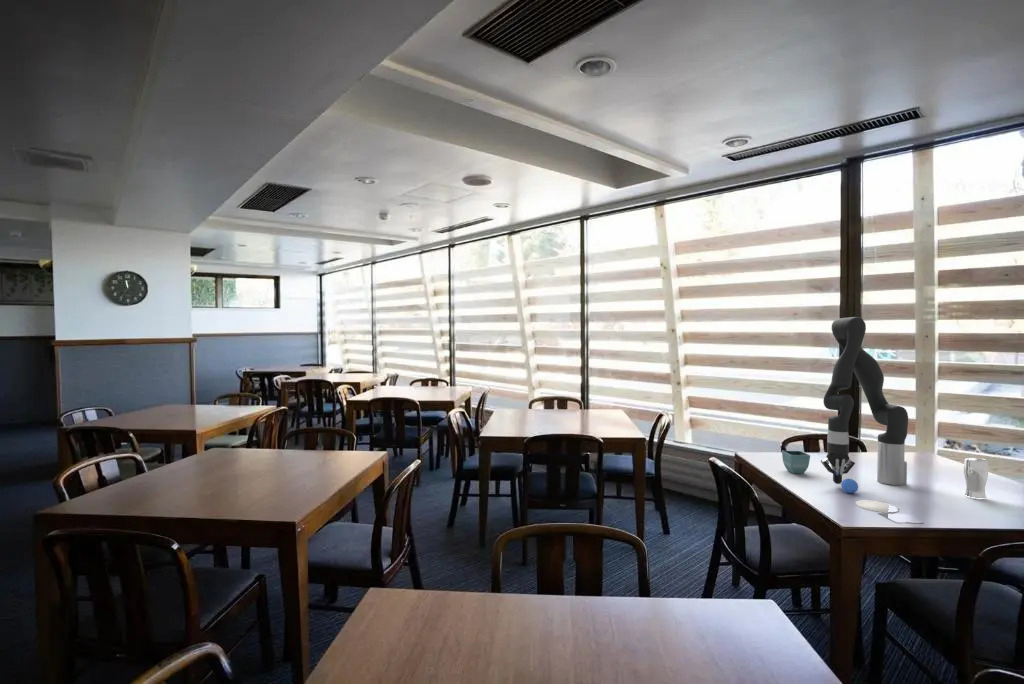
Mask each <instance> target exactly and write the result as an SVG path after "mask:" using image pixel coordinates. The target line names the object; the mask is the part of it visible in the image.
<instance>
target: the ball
mask: <svg viewBox="0 0 1024 684" xmlns="http://www.w3.org/2000/svg"><path fill="white" fill-rule="evenodd" d="M840 485H841V488H842V490H843V491H844V492H845V493H848V494H855V493H856V492H858V490H859V484H858V482H857V481H856V480H854V478H853V479H852V478H846V479H842V482H841V484H840Z"/></svg>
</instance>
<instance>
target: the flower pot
mask: <svg viewBox="0 0 1024 684" xmlns="http://www.w3.org/2000/svg"><path fill="white" fill-rule="evenodd" d="M781 455H782V457H781V458H782V462H783V465H784V467H785V469H786V470H787V472H790V473H791V472H792V474H804V473H805V472H807V470H808V468H809V466H810V459H811V455H810V454H808V453H807V452H804V451H802V450H781Z"/></svg>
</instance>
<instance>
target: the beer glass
mask: <svg viewBox="0 0 1024 684" xmlns="http://www.w3.org/2000/svg"><path fill="white" fill-rule="evenodd" d="M963 464H964V465H963V475H964V479H965V484H966V489H965V494H964V496H965V495H967V496H970V497H975V498H986V499H987V496H986V486H987V481H988V477H989V463H988V460H987V459H986V458H981V457H973V456H971V457H970V456H966V457H964V463H963Z"/></svg>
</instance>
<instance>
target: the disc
mask: <svg viewBox="0 0 1024 684" xmlns="http://www.w3.org/2000/svg"><path fill="white" fill-rule="evenodd" d="M855 503H859V504H857V505H859V506H860V507H859V506H858V507H859V508H861V507H863V508H862V509H864V508H865V509H864V510H867V509H869V510H868V511H871V510H872V511H871V512H876V511H878V513H883V512H888V510H889V509H888V508H889V504H890V503H885V502H883V501H877V500H869V499H864V500H863V499H862V500H861V499H860V500H857V501H855ZM857 505H856V506H857ZM864 505H865V506H864ZM890 505H891V506H892V505H893V504H890Z"/></svg>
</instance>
